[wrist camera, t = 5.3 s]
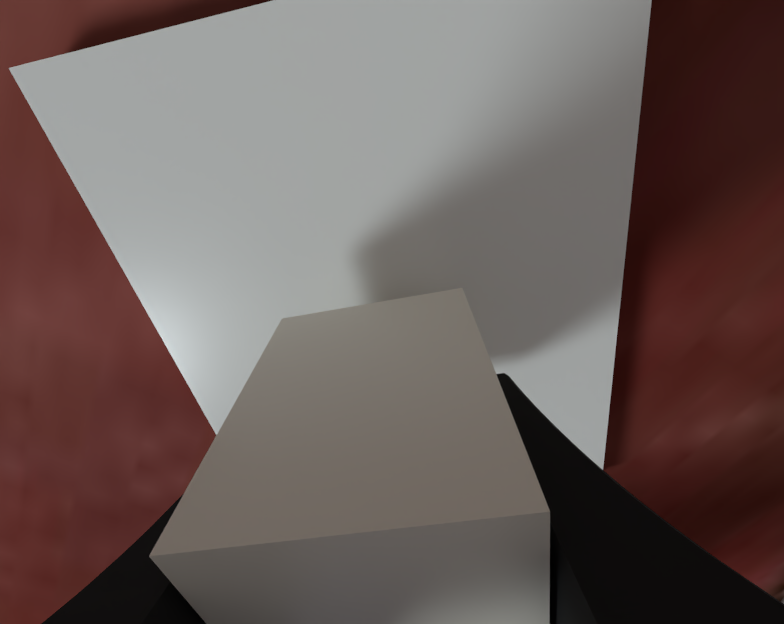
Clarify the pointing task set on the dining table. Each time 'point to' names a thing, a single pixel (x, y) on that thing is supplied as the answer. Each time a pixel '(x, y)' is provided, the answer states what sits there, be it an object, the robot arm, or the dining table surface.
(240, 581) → the cream rectangular prism
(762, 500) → the dining table surface
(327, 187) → the light gray slab
